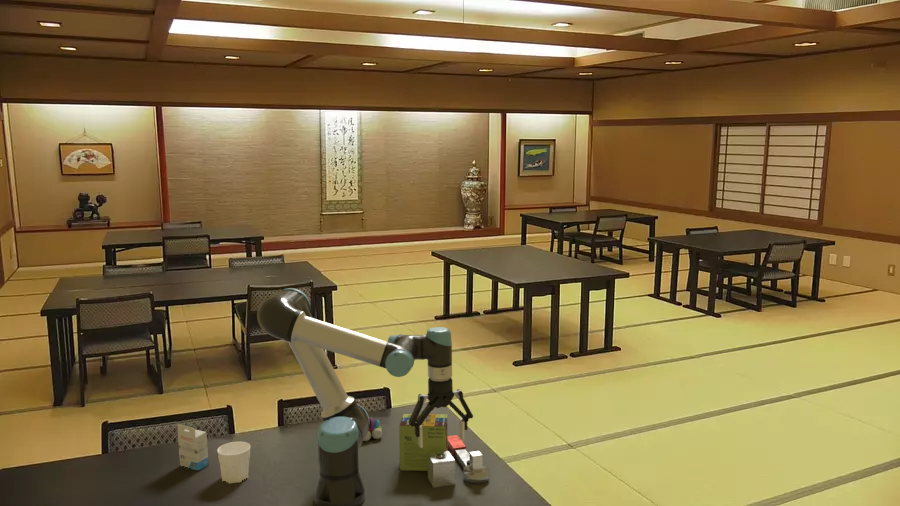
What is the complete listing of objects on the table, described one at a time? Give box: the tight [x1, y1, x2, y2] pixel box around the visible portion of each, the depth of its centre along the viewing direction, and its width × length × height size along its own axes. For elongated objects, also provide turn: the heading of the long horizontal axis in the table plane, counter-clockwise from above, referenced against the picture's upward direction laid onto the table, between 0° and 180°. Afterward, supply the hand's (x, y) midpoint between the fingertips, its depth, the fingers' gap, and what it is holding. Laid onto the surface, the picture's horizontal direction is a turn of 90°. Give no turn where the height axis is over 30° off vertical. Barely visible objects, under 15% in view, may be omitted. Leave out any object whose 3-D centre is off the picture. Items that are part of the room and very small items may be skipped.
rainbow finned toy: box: [363, 417, 383, 442], centre depth 249 cm, size 8×10×7 cm
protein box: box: [398, 413, 449, 472], centre depth 227 cm, size 10×15×16 cm
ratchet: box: [448, 434, 490, 485], centre depth 228 cm, size 8×31×8 cm, turn 17°
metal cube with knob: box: [427, 450, 456, 488], centre depth 215 cm, size 7×7×8 cm
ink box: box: [177, 423, 209, 472], centre depth 226 cm, size 8×5×15 cm, turn 62°
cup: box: [216, 441, 251, 485], centre depth 218 cm, size 10×10×10 cm
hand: (441, 443), depth 214 cm, fingers open, 13 cm apart
